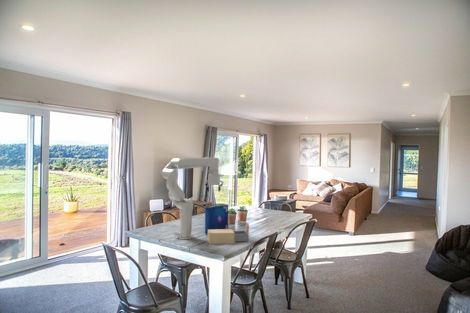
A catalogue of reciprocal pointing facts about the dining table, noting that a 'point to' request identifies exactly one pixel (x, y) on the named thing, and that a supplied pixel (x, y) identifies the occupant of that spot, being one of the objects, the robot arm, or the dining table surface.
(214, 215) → the book
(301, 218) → the dining table surface
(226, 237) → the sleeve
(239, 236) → the grey stepped block
